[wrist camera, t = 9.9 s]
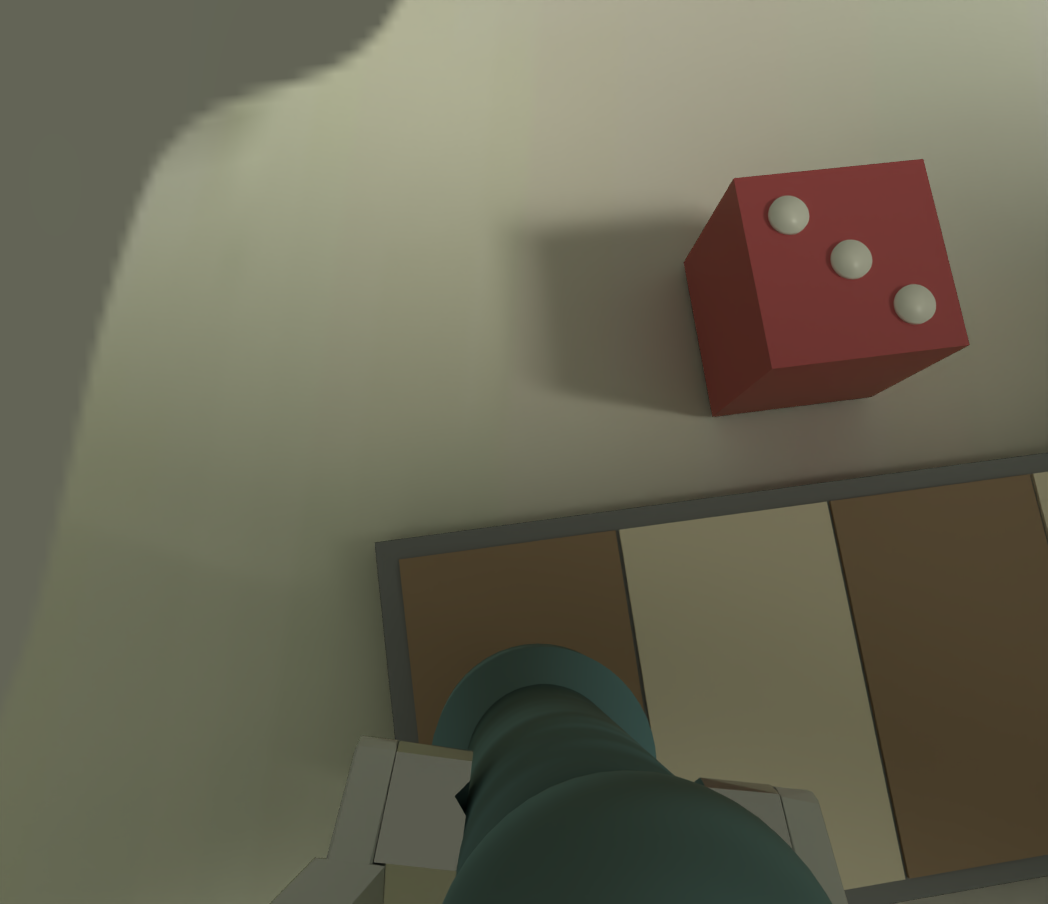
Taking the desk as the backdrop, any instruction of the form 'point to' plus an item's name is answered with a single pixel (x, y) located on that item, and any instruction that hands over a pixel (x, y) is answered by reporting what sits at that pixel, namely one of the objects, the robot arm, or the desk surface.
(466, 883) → the pawn
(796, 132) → the desk surface
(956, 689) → the board
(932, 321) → the die
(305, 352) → the desk surface
